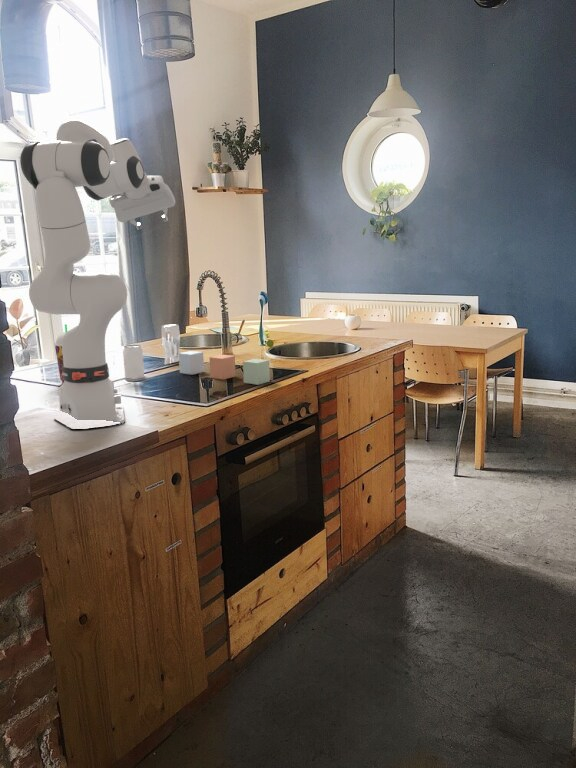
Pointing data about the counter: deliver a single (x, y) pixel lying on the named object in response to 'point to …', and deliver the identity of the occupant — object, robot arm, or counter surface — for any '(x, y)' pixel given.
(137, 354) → the can
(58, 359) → the smoothie
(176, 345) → the beer glass
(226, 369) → the terracotta block
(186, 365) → the bluegrey block
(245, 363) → the sage block
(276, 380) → the counter surface
